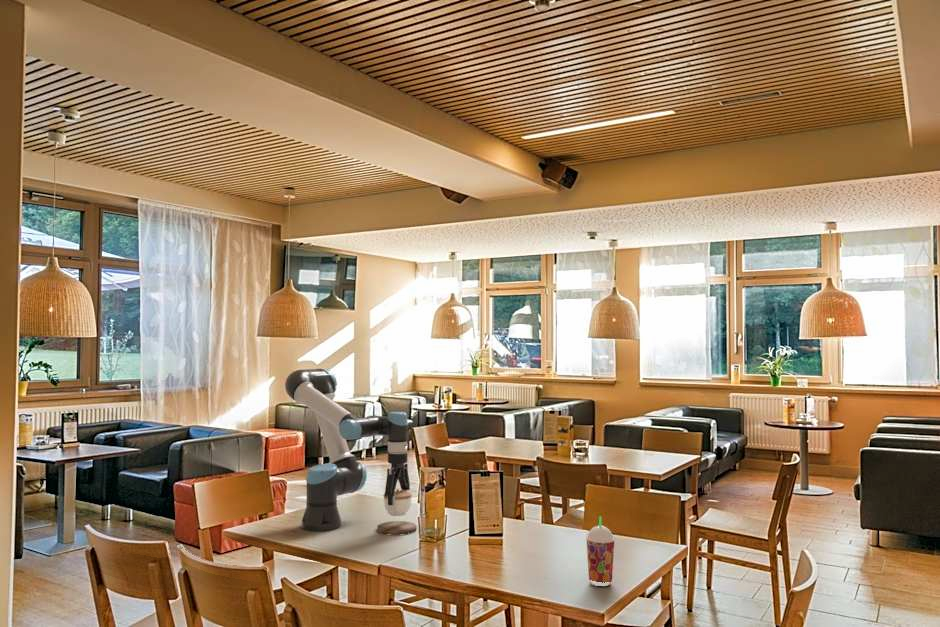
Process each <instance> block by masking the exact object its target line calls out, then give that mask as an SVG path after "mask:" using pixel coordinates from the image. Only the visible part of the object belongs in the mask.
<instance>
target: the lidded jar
mask: <svg viewBox="0 0 940 627" xmlns="http://www.w3.org/2000/svg"><path fill="white" fill-rule="evenodd" d="M394 496H395V514H389V515H390V516H391V517H392V516H393V517H401V516H405V515H406V514H407V513H408V512H409V510H410V508H411V505H412V496H413V494H412V492H410V491H407V492H406V491H400V489H398V488H395V492H394ZM383 502H384V505H383V506H384V508H385V511H386V512H387V513H388V496H385V493H384V494H383Z"/></svg>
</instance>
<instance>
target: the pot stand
mask: <svg viewBox="0 0 940 627" xmlns="http://www.w3.org/2000/svg"><path fill="white" fill-rule="evenodd" d="M376 527H377V528H376V530H377V532H378V533H379V532H380V533H379V534H381V533H383V534H382V535H386V534H391V535H390V536H401V535H400V534H406V535H409V534H408V533H411V534H413V533H415V532H417V529H418V528H417V524H416V523H415V522H410V521H406V520H405V521H404V520H396V521H395V520H394V521H393V520H392V521H386V522H381V523H379V524H377V526H376ZM412 532H413V533H412Z"/></svg>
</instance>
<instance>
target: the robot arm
mask: <svg viewBox="0 0 940 627" xmlns="http://www.w3.org/2000/svg"><path fill="white" fill-rule="evenodd" d="M284 387H285V391H286V394H287V395H288V396H289V397H290V398H291V399H292V400H293V401H295V402H296V403H297V404H303V405H305V406H306V407H307V408H309V409H310V410H311V411H313V412H314V414H315V417H316V421H317V424H318V426H319V430H320V433H321V436H322V439H323V442H324V445H325V448H326V452H327V456H328V458H329V462H327V463H320V464H316V465H313V466H311V467H309V468H308V470H307V471H306V478H305V479H306V507H305V509H304V513H303V516H302V520H301V528H302V530H306V531H310V530H311V531H313V532H322V531H323V532H325V531H331V530H335V529H338V528H340V527H341V526H342V519H341V515H340V511H339V509H338V496H343V495H347V494H353V493H355V492H357V491H360V490H362V488H363V487H364V486H365V484H366V481H367V476H368V475H367V474H368V473H367V468H366V467H365V465H364V464H363V463H362V462H360V461H358V460H357V458H356V455H354V454H352V453H351V452H350V449H349V445H348V442H347V440H350V441H351V440H357V439H363V438H369V437H377V436H383V437H387V463H388V464H390V465H391V467H390V468H387V469H386V481H385V489H384V494H385V496H388V512H387V514H389V515H390V514H395V496H394V492H395V491H396V489H397V483H399V486H400V489H399V491H406V492H408V491H410V486H411V484H410V478H409V476H410V475H409V471H408V470H409V468H408V453H407V451H408V447H409V444H408V427H409V426H408V425H409V424H408V423H409V422H408V415H407V412H404V411H389V412H388V414H387V416H385V415H384V416H382V415H376V414H375V415H367V416H366V417H357V416H356V415H354V414H353V413H351V412H349V411H348V410H347V409H346V408H344V407H342V406H341V405H340V404H338V403H337V402H335V401H334V398H335V397H336V393H335V392H336V391H337V387H338V382H337V378H336V377H335V375H334V373H333V372H332V371H330V370H329V369H324V368H314V369H311V368H310V369H297V370H294V371H292V372H290V374H289V375H288V376H287V378H286V379H285V382H284ZM324 530H325V531H324Z"/></svg>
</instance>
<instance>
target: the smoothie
mask: <svg viewBox="0 0 940 627" xmlns="http://www.w3.org/2000/svg"><path fill="white" fill-rule="evenodd" d="M598 519H599V520H598V521H599V522H598V523H599V524H598V525H596V526H593V527H592V528H591V529H590V530H589V532H588V535H587V536H586V551H587V552H586V553H587V567H588V568H587V569H588V580H589V579H590V580H592V581H596V582H602V583H603V582H604V583H605V582H610V583H611V582H613V570H614V553H615V551H614V550H615V537H614V535H613V533H612V531H611V530H610V529H609V528H608V527H607V526H604V525H602V516H599V518H598ZM590 580H589V581H590Z"/></svg>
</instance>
